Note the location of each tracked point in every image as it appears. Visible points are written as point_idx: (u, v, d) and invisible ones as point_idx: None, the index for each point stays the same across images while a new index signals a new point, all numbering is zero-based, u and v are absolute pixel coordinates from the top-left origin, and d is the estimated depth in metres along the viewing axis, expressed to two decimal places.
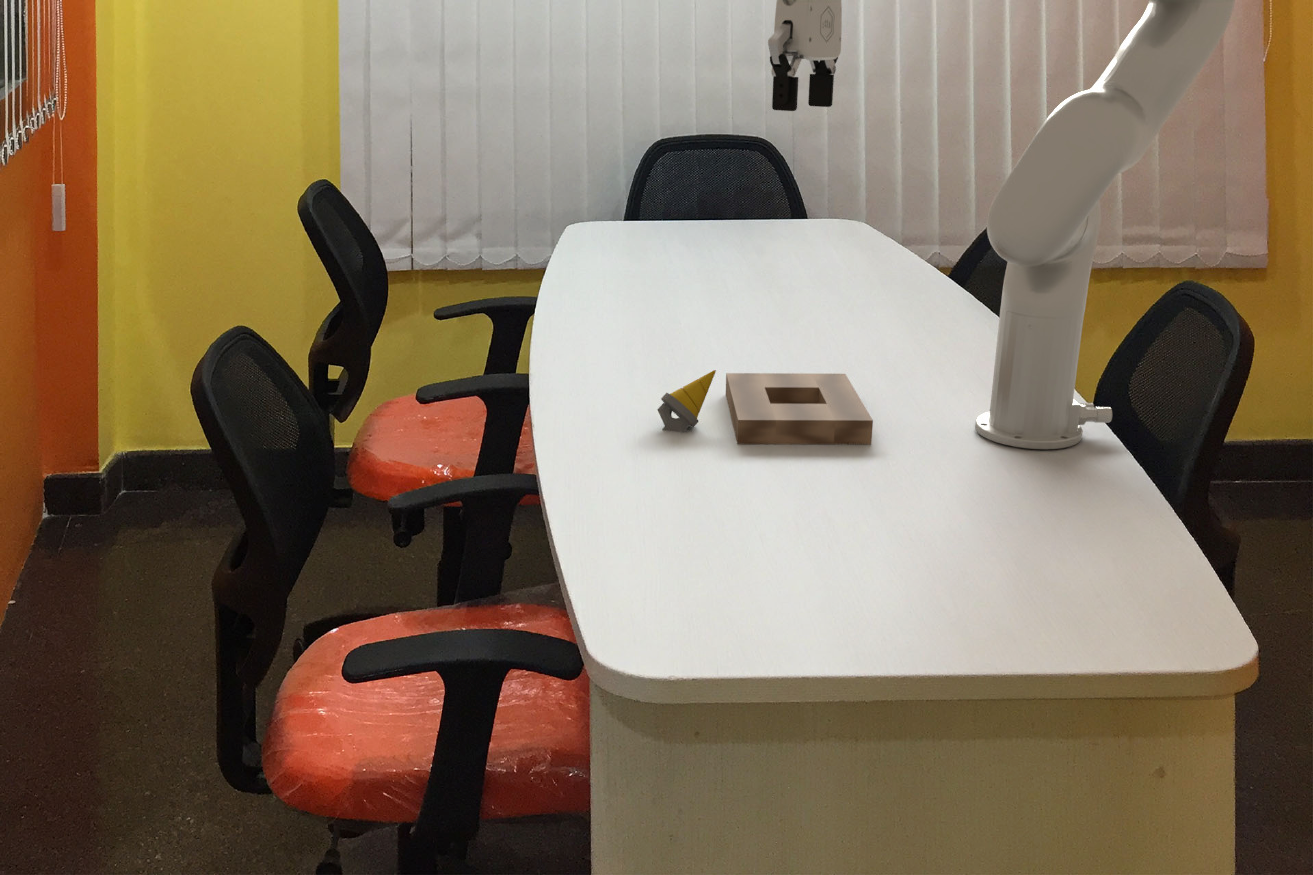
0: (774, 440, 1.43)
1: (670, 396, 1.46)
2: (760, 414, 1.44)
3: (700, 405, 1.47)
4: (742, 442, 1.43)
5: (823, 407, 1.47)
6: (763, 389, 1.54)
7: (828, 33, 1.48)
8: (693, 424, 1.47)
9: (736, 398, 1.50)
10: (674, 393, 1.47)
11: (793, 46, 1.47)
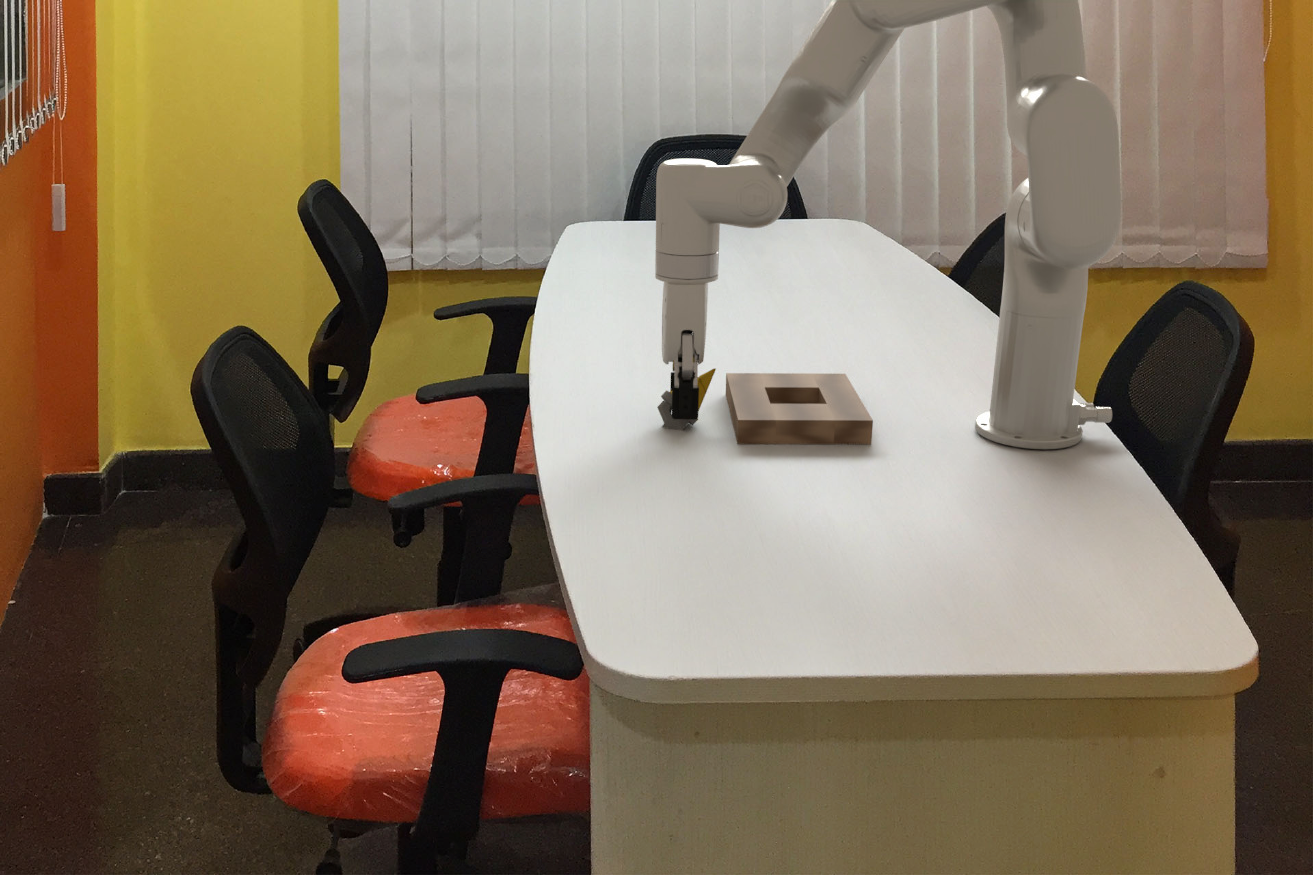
0: (774, 440, 1.43)
1: (669, 394, 1.47)
2: (760, 414, 1.44)
3: (699, 403, 1.48)
4: (742, 442, 1.43)
5: (823, 407, 1.47)
6: (763, 389, 1.54)
7: (663, 332, 1.45)
8: (692, 422, 1.48)
9: (736, 398, 1.50)
10: None
11: None
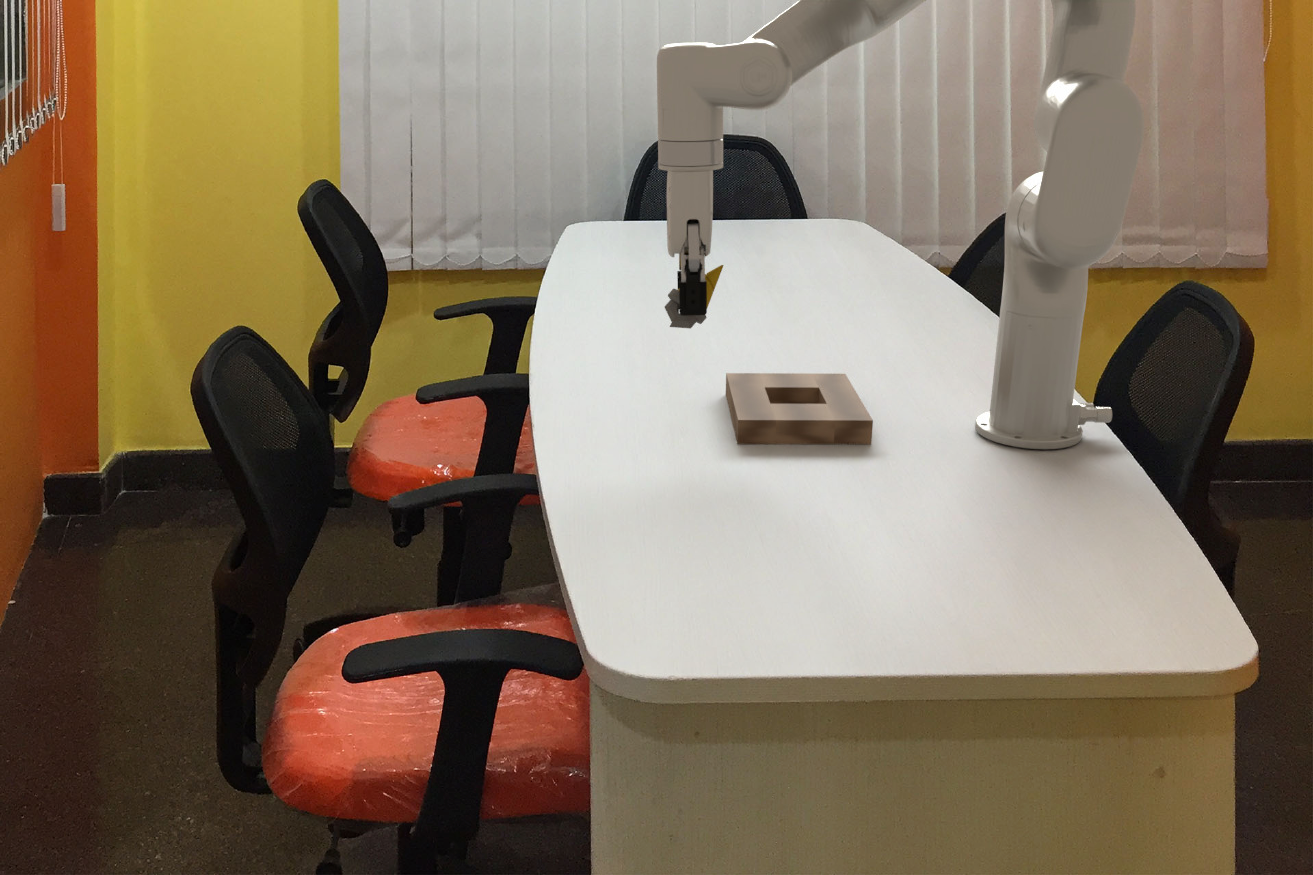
0: (774, 440, 1.43)
1: (676, 291, 1.43)
2: (760, 414, 1.44)
3: (708, 300, 1.44)
4: (742, 442, 1.43)
5: (823, 407, 1.47)
6: (763, 389, 1.54)
7: (668, 226, 1.41)
8: (701, 320, 1.43)
9: (736, 398, 1.50)
10: None
11: None
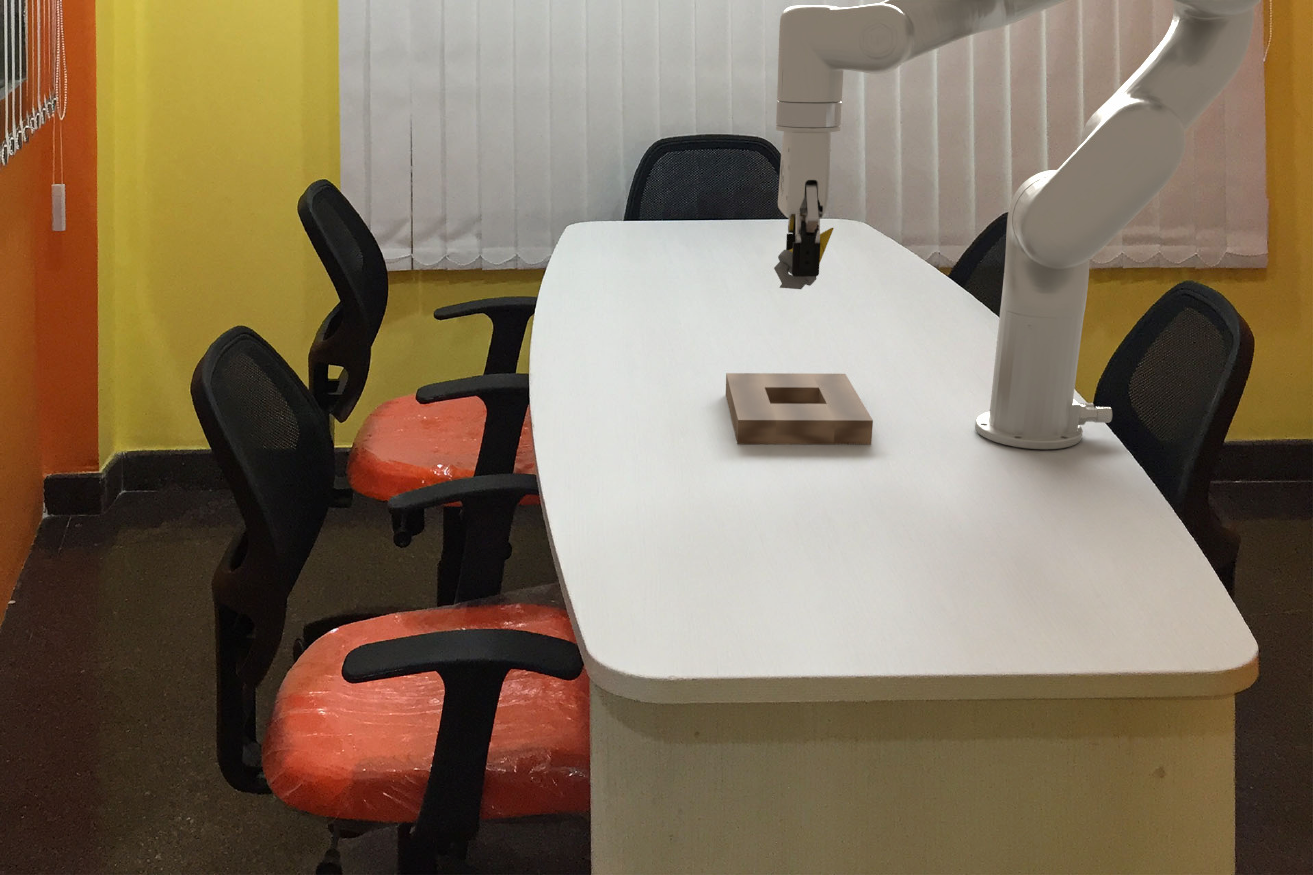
0: (774, 440, 1.43)
1: (788, 252, 1.45)
2: (760, 414, 1.44)
3: None
4: (742, 442, 1.43)
5: (823, 407, 1.47)
6: (763, 389, 1.54)
7: None
8: (811, 281, 1.45)
9: (736, 398, 1.50)
10: (792, 250, 1.45)
11: None
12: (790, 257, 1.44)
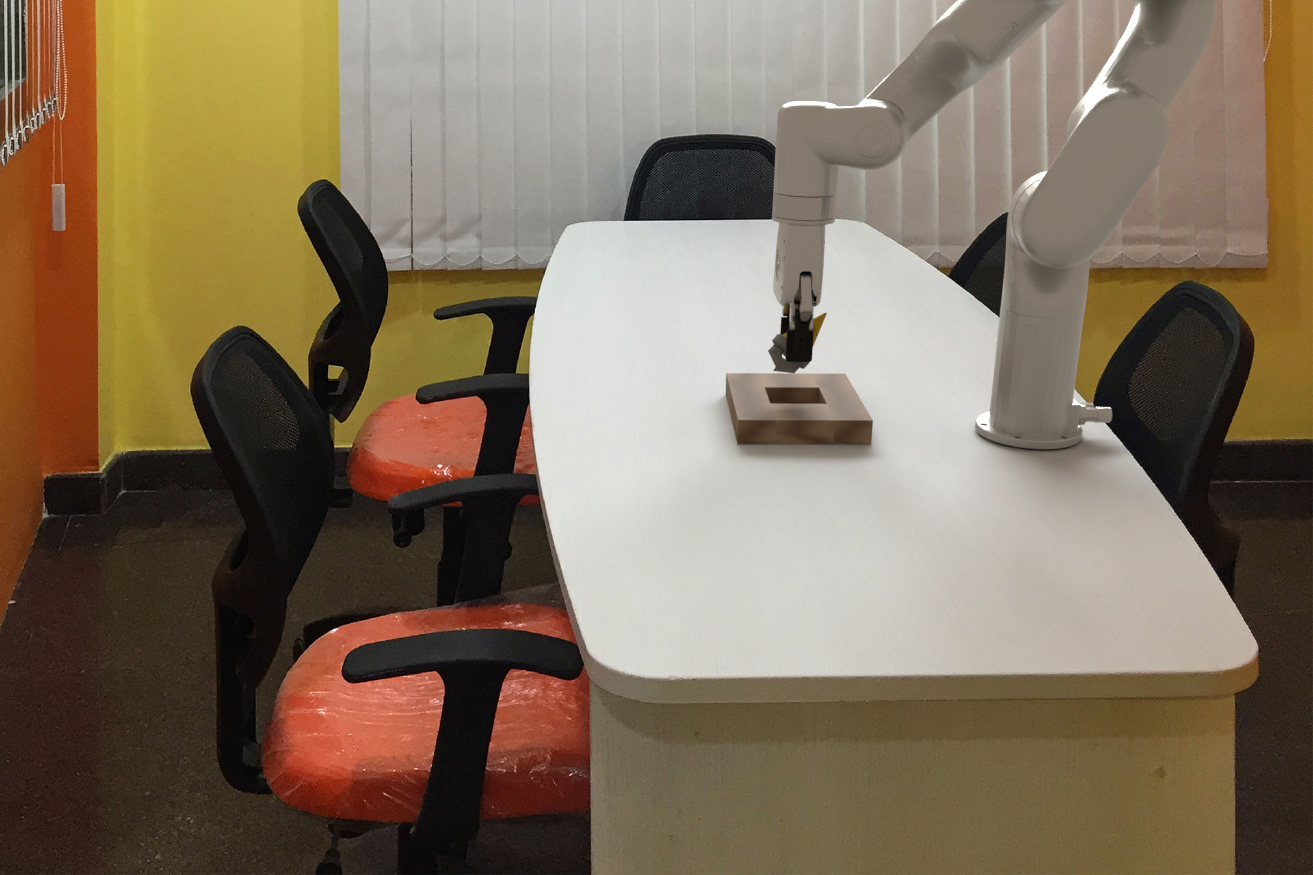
0: (774, 440, 1.43)
1: (782, 337, 1.48)
2: (760, 414, 1.44)
3: None
4: (742, 442, 1.43)
5: (823, 407, 1.47)
6: (763, 389, 1.54)
7: None
8: (804, 365, 1.49)
9: (736, 398, 1.50)
10: (786, 335, 1.49)
11: None
12: (784, 342, 1.48)
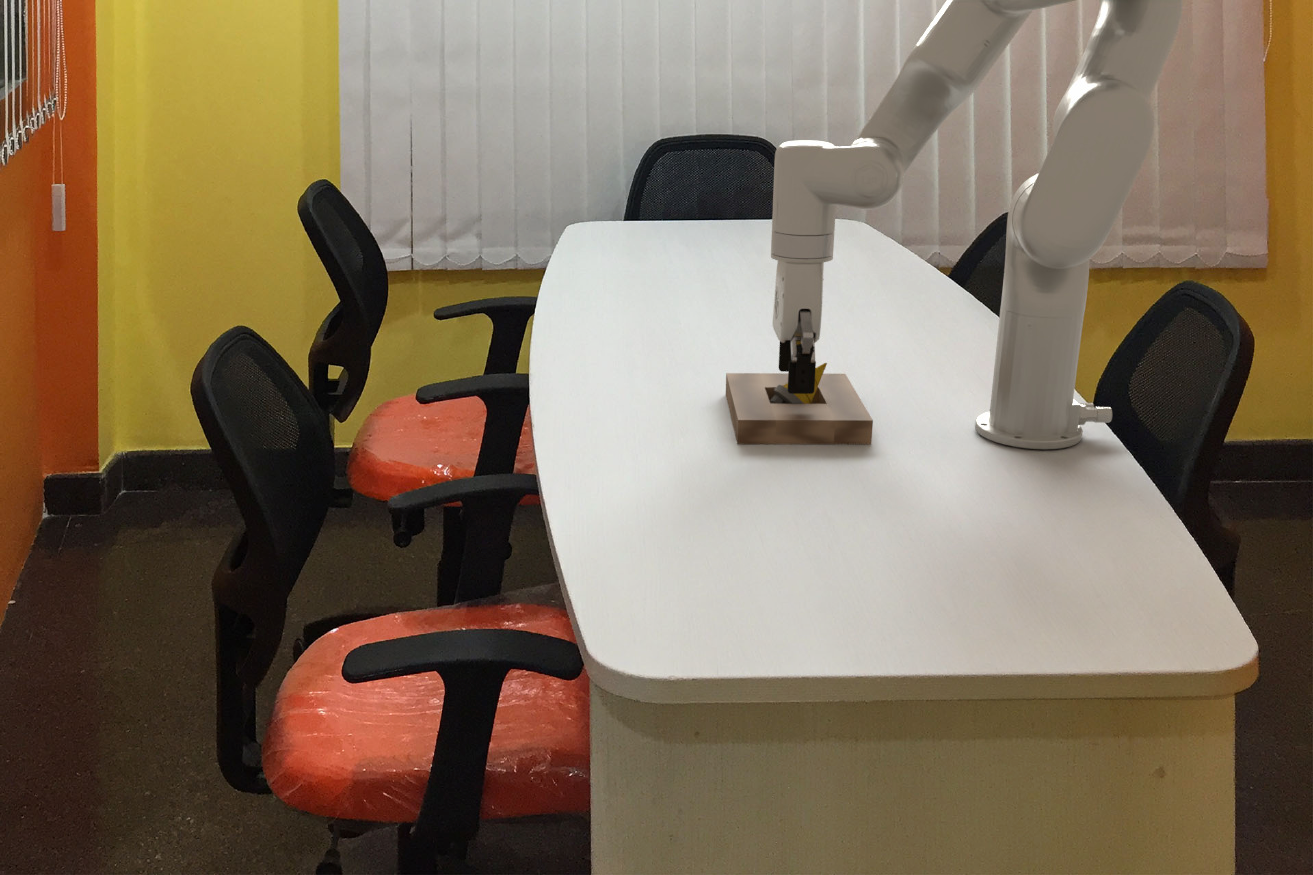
0: (774, 440, 1.43)
1: (783, 388, 1.50)
2: (760, 414, 1.44)
3: (812, 397, 1.51)
4: (742, 442, 1.43)
5: (823, 407, 1.47)
6: (763, 389, 1.54)
7: (777, 311, 1.47)
8: None
9: (736, 398, 1.50)
10: (787, 385, 1.51)
11: None
12: (785, 393, 1.49)
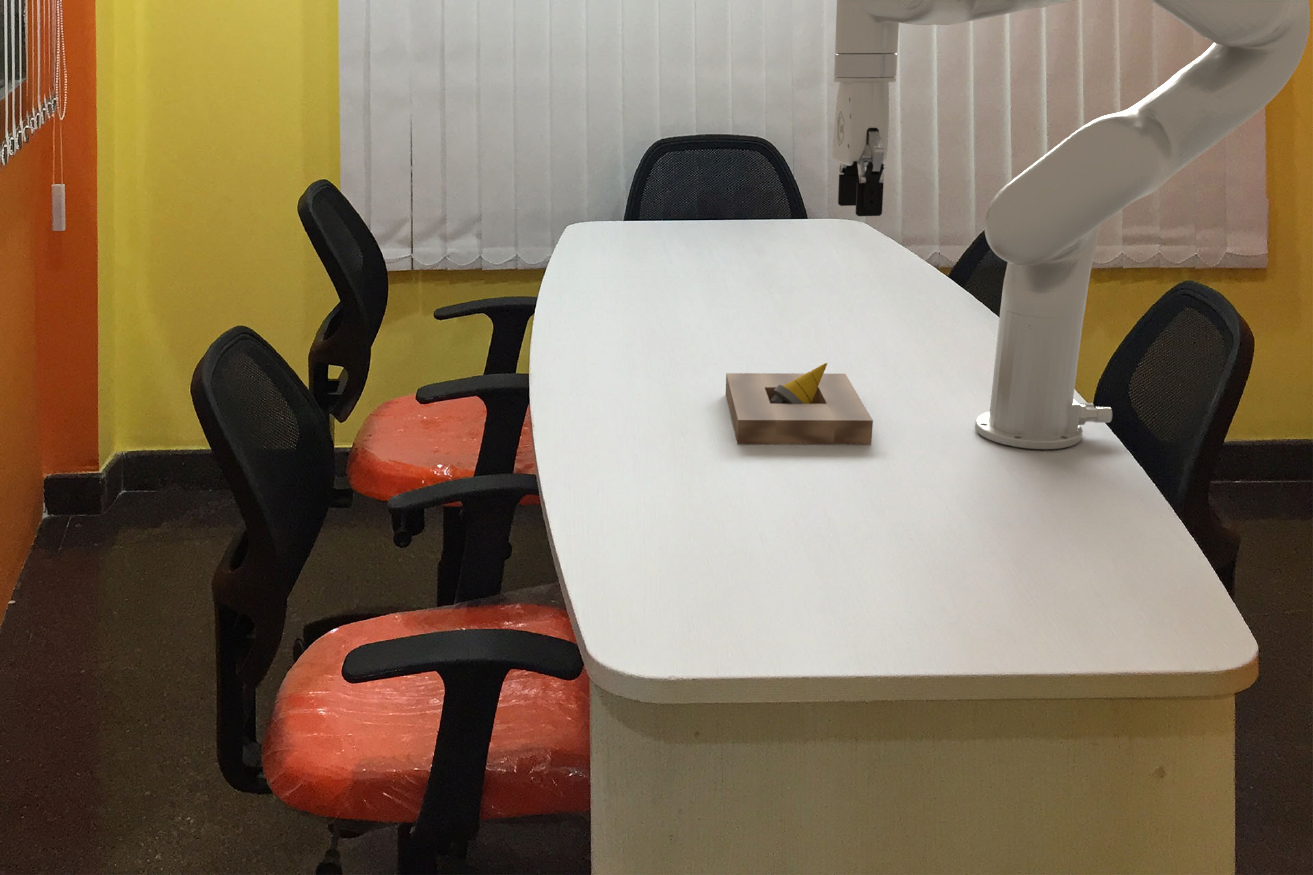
0: (774, 440, 1.43)
1: (783, 388, 1.50)
2: (760, 414, 1.44)
3: (812, 397, 1.51)
4: (742, 442, 1.43)
5: (823, 407, 1.47)
6: (763, 389, 1.54)
7: (842, 137, 1.49)
8: None
9: (736, 398, 1.50)
10: (787, 385, 1.51)
11: None
12: (785, 393, 1.49)
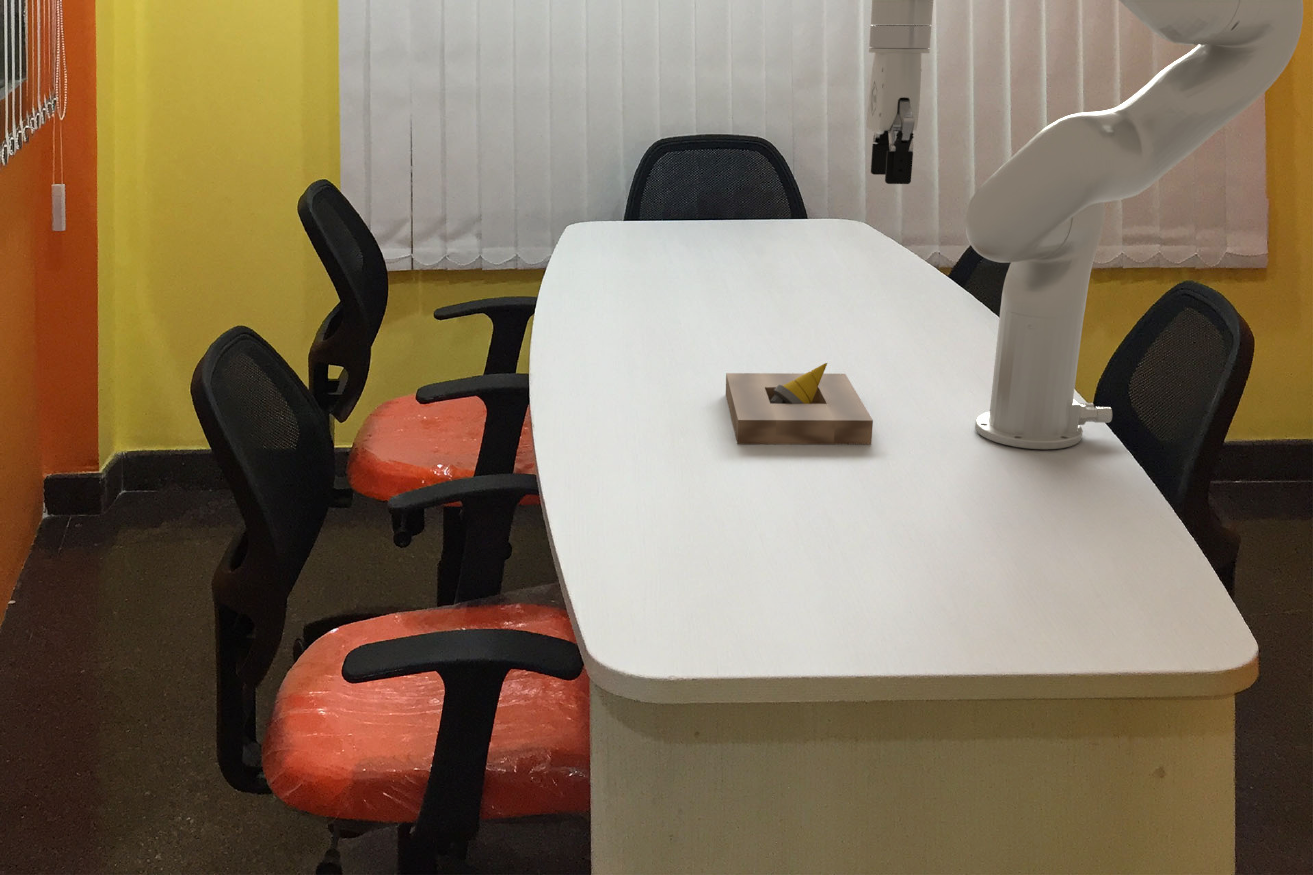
0: (774, 440, 1.43)
1: (783, 388, 1.50)
2: (760, 414, 1.44)
3: (812, 397, 1.51)
4: (742, 442, 1.43)
5: (823, 407, 1.47)
6: (763, 389, 1.54)
7: (874, 107, 1.53)
8: None
9: (736, 398, 1.50)
10: (787, 385, 1.51)
11: None
12: (785, 393, 1.49)
